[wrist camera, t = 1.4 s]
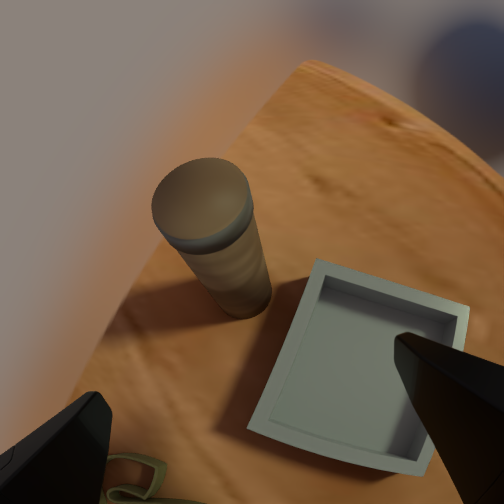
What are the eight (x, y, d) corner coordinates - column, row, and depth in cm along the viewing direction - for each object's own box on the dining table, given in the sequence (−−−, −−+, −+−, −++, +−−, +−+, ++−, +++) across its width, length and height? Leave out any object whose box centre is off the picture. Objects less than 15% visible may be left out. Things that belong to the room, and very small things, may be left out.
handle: (259, 328, 22) (219, 251, 11) (206, 307, 24) (131, 222, 13) (281, 276, 24) (264, 165, 13) (230, 259, 25) (181, 150, 15)
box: (408, 468, 15) (422, 476, 13) (253, 424, 19) (246, 428, 16) (452, 318, 20) (469, 306, 17) (314, 275, 24) (316, 258, 21)
